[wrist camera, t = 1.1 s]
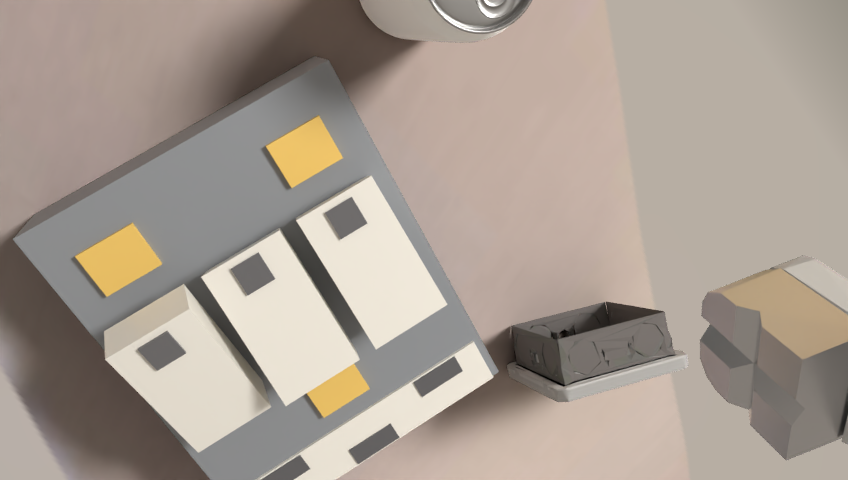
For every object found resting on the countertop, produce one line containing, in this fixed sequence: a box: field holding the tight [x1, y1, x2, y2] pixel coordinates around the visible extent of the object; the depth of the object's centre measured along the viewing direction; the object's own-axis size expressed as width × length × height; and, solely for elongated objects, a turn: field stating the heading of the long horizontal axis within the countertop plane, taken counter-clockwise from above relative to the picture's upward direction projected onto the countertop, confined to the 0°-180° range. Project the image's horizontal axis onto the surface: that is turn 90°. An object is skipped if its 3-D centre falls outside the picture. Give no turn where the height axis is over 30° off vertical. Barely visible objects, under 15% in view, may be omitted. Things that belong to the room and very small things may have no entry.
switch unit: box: [13, 56, 499, 480], centre depth 42 cm, size 22×18×6 cm
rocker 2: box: [201, 228, 360, 406], centre depth 38 cm, size 8×4×3 cm, turn 27°
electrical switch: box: [507, 302, 688, 402], centre depth 48 cm, size 9×5×9 cm, turn 97°
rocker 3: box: [296, 176, 448, 349], centre depth 38 cm, size 8×4×2 cm, turn 28°
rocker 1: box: [104, 284, 271, 453], centre depth 37 cm, size 8×4×3 cm, turn 28°
